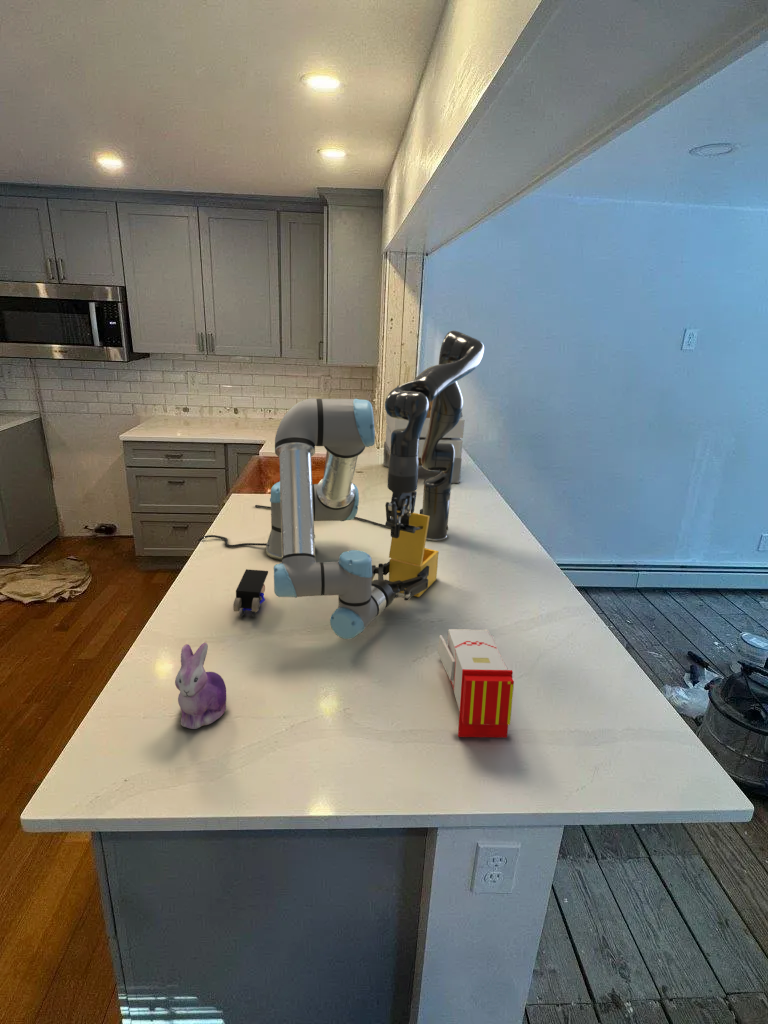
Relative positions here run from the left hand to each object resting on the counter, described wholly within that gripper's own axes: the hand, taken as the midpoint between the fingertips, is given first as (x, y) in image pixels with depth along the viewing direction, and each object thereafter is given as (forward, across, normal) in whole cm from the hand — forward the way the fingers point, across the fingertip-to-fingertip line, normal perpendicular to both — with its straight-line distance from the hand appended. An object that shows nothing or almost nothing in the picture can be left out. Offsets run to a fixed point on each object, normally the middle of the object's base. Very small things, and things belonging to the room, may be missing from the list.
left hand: (411, 566), depth 160 cm
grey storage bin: (+111, -46, -6) cm, 120 cm away
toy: (-37, +30, -7) cm, 48 cm away
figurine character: (-32, -31, -7) cm, 45 cm away
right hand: (-9, 0, +13) cm, 16 cm away
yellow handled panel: (-2, 0, +10) cm, 10 cm away
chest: (+2, 0, -7) cm, 7 cm away
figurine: (-69, -12, -7) cm, 70 cm away
